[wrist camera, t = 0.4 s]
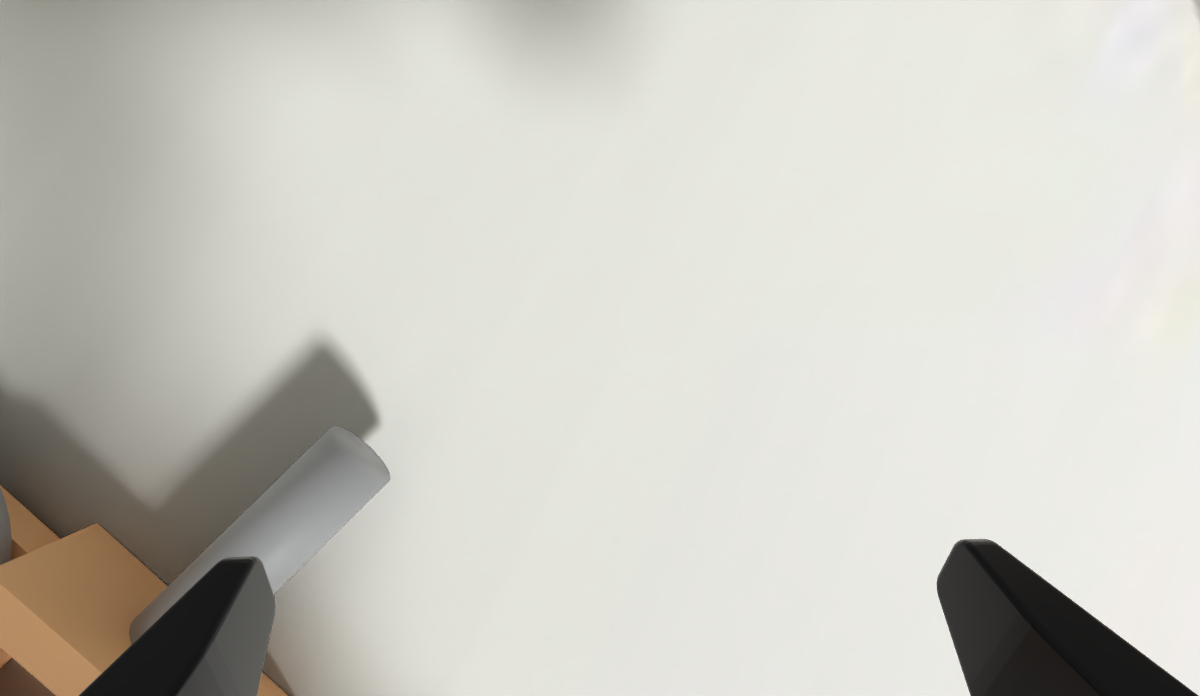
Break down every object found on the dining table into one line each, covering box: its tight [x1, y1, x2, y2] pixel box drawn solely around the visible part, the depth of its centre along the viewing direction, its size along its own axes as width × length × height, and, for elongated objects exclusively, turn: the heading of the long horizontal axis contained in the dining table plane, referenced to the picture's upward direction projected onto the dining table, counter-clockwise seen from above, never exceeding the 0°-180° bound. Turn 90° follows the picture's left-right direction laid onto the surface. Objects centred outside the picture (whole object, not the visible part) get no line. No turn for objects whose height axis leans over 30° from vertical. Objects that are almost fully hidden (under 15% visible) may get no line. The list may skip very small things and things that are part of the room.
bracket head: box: [0, 426, 390, 696], centre depth 19 cm, size 18×16×6 cm
